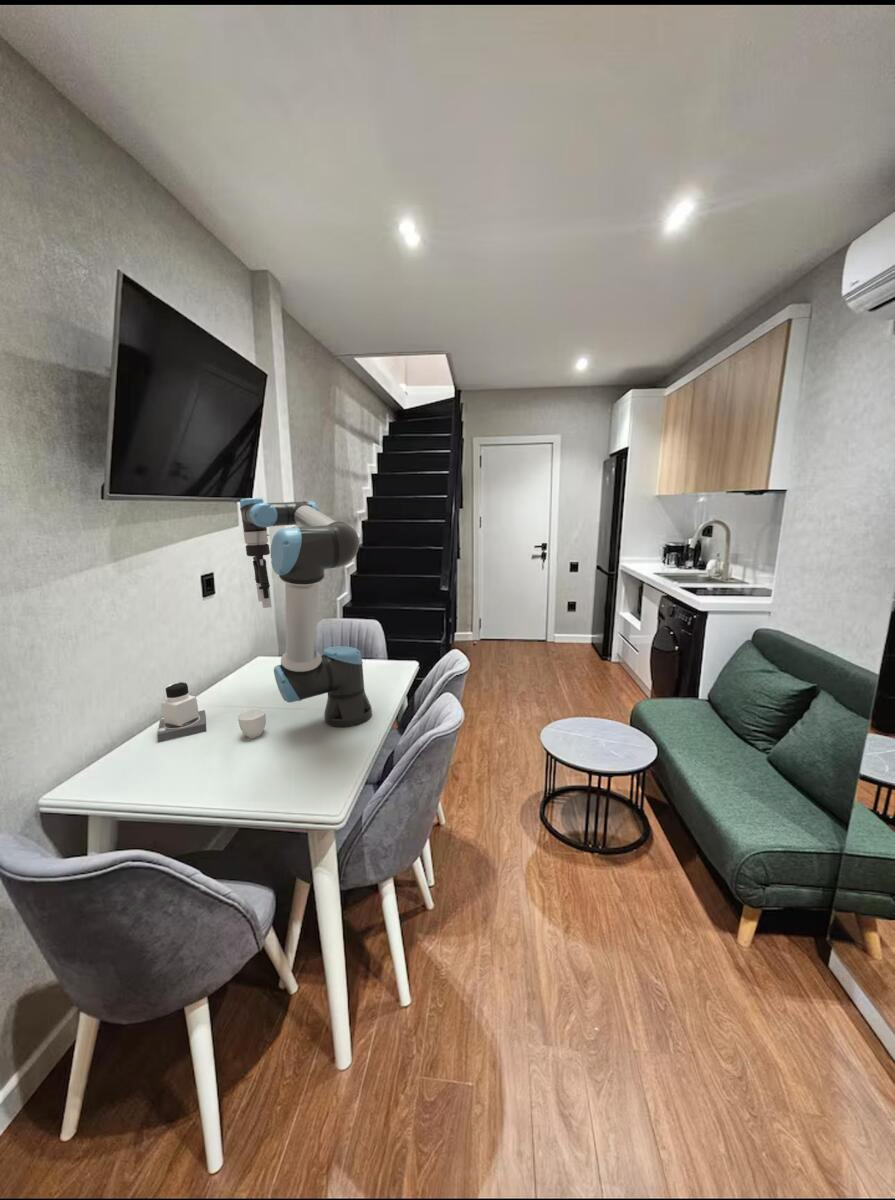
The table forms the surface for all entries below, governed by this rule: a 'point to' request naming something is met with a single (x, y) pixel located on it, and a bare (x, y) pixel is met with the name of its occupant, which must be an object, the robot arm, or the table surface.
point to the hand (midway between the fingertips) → (264, 604)
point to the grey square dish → (182, 728)
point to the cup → (252, 722)
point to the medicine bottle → (179, 705)
